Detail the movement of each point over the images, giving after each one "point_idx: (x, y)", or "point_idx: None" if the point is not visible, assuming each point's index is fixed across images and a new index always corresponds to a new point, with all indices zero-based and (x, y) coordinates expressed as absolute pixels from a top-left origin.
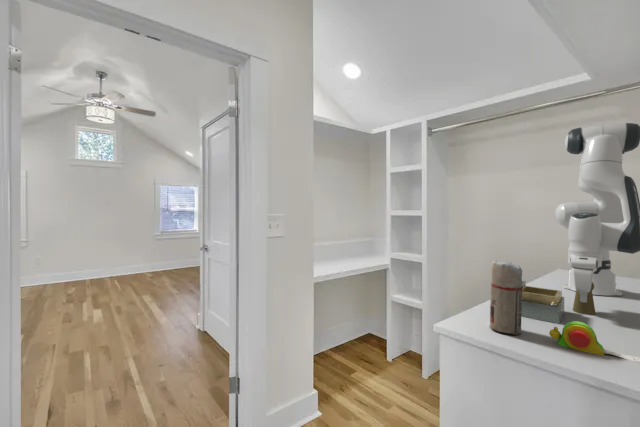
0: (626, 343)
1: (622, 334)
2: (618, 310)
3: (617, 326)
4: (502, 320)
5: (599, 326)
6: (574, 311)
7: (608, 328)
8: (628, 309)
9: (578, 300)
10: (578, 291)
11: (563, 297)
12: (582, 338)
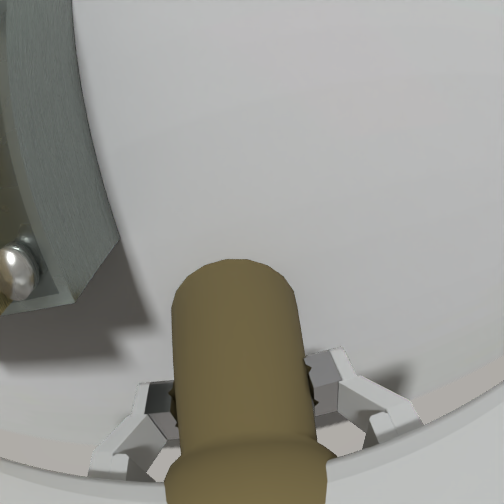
0: (4, 423)
1: (51, 427)
2: (405, 374)
3: (116, 424)
4: None
5: (49, 390)
6: (184, 280)
7: (60, 407)
8: (440, 378)
9: (174, 364)
10: (184, 432)
11: (48, 303)
12: None
